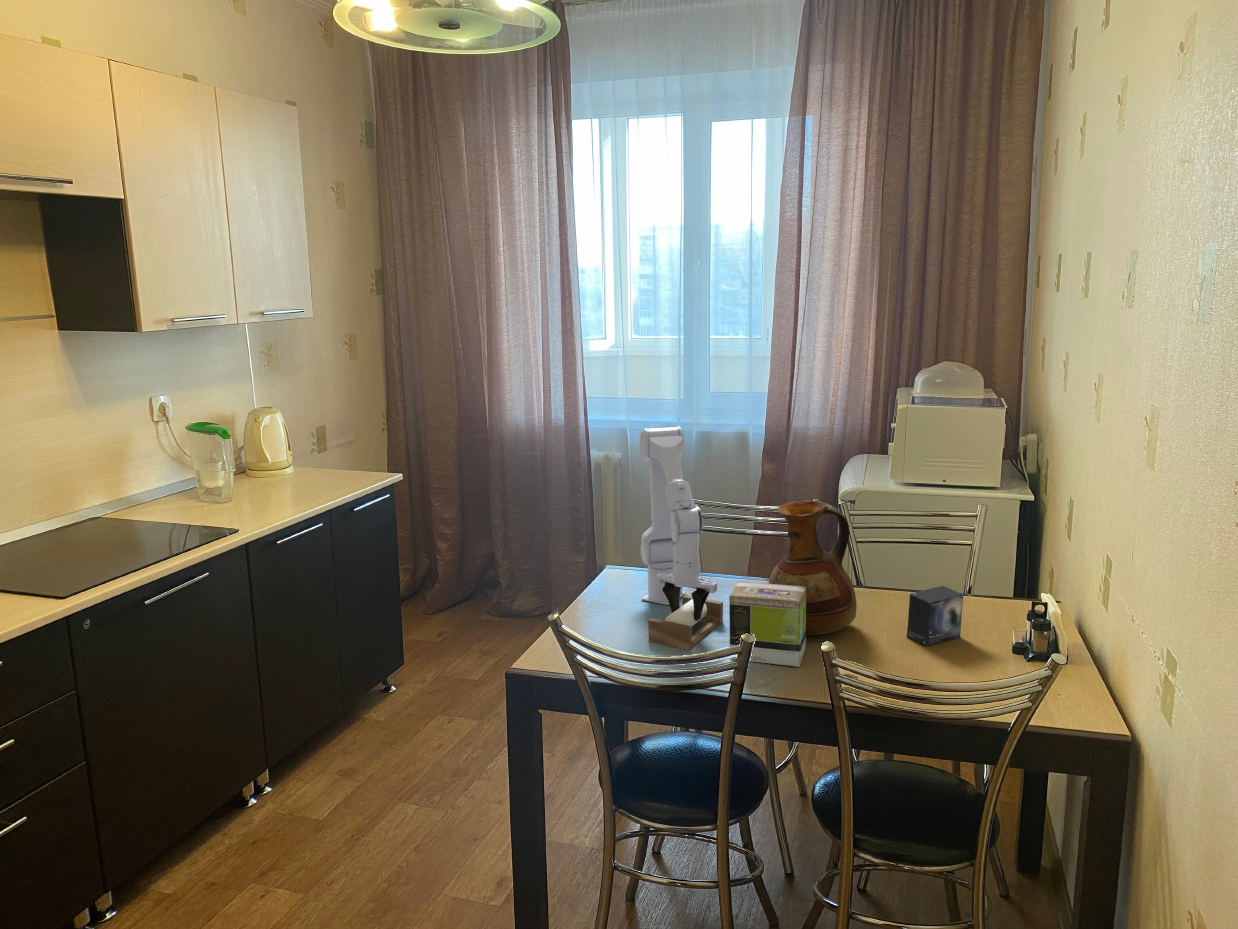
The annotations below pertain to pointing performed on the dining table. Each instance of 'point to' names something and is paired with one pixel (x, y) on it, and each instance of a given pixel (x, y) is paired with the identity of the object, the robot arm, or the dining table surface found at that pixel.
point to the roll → (685, 614)
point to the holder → (685, 627)
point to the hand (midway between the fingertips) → (686, 616)
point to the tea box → (770, 621)
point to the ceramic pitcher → (817, 567)
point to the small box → (934, 615)
